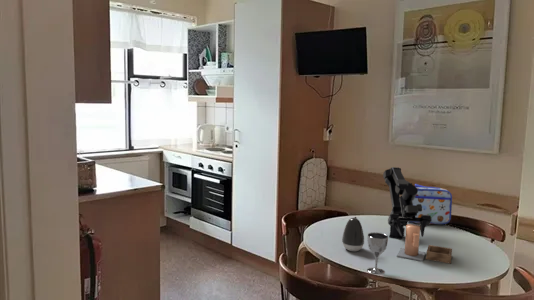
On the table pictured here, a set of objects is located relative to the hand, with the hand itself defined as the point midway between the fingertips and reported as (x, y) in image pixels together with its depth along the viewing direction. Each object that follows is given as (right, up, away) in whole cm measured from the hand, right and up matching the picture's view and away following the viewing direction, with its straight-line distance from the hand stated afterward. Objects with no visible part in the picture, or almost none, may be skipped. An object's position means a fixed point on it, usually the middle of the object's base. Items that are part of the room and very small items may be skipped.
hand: (412, 236), depth 189 cm
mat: (0, -9, +1) cm, 9 cm away
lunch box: (+26, -3, +54) cm, 59 cm away
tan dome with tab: (0, -8, -1) cm, 8 cm away
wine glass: (-21, -11, -18) cm, 30 cm away
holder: (+11, -9, -2) cm, 15 cm away
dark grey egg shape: (-26, -8, +7) cm, 28 cm away
